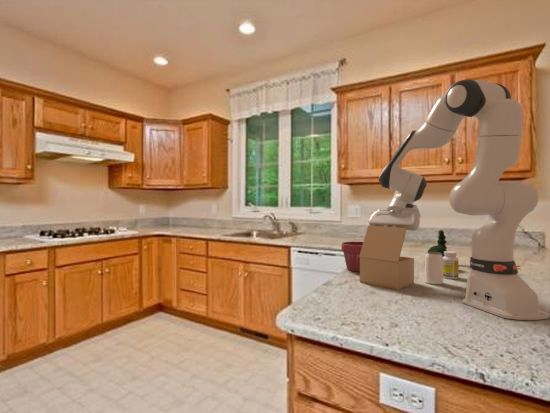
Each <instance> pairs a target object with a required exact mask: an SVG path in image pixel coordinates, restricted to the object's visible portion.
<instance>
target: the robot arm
mask: <svg viewBox="0 0 550 413" xmlns="http://www.w3.org/2000/svg"><path fill="white" fill-rule="evenodd" d="M466 117H467V118H472V117H473V118H474V117H475V118H476V119H477V120H478V122H479V129H478V130H479V131H478V137H477V139H478V140H477V146H476V153H475V159H474V162H473V165H472V167H471V169H470V171H469V172H468V173H467V175H466V176H465V177H464V178H463V179H462V180H461V181H459V182H458V183H456V184H455V185H454V186H453V188H452V189H451V191H450V192H449V204H450V206H451V208H452V210H453V211H454V212H456V213H458V214H463V215H467V216H488V218H487V220H486V222H485V224H484V225H483V226H481V227H479V228H477V229H476V230H475V231H474V232H473V233H472V235H471V257H470V259H469V268H470V269H471V270H470V272H469V275H468V276H467V282H466V289H465V298H463V299H462V304H464V305H467V306H470V307H473V308H476V309H479V310H480V311H484V312H487V313H490V314H493V315H495V316H498V317H501V318H503V319H509V320H519V321H521V320H522V321H534V320H535V321H537V320H538V321H539V320H546V319H549V318H550V313H549V312H547V311H545V310H544V309H541V308H540V302H539V297H538V294H537V292H536V291H534V289H532V288H531V286H530V285H529V284H528V283H527V282H526V281H525V280H524V279H523V278H522V277H521V275H519V270H521V268H519V267H522V265H517V264H516V261H515V260H514V247H515V246H514V245H515V237H516V232H517V230H518V228H519V226H520V224H521V223H522V221H523V219H524V218H525V217H526V216H527V215H528V214H530V213H531V212H533V211H534V210H536V207H537V206H538V202H539V194H538V191H537V189H536V188H535V187H534V186H533V185H532V184H529V183H525V182H521V181H514V180H501V181H500V178H501V176H502V175H503V174H504V173H505V172H506V170H508V169H510V168H512V167H514V166H515V165H517V163H518V162H519V159H520V154H521V153H520V152H521V145H522V135H523V111H522V105H521V103H520V102H519V101H517V100H515V99H512V96H511V92H510V90H509V89H508V88H507V87H506V86H504V85H502V84H500V83H494V82H491V81H487V80H483V79H482V80H479V79H469V78H467V79H462V80H461V79H460V80H459V81H456V82H454V83H453V84H451V85H450V87H449V88H448V89H447V91H446V93H445V94H442V95H441V96H440V97H439V98H438V99H437V101H436V102H435V104H433V107H432V108H431V109H430V111H429V113H428V116H427V117H426V118H425V121H424V123H423V124H422V125H421V126H420V127H419V128H417V129H416V130H411V132H409V133H408V134H407V135H406V137H405V139H404V140H403V141H402V142H401V144H400V145H399V147H398V148H397V150H396V151H395V153H394V154H393V155H392V157H391V159H390V161H389V162H388V163H387V164H386V165H385V166H384V167H383V169H382V170H381V171H380V174H379V175H378V182H379V184H380V186H381V187H382V188H383V189H387V190H392V191H394V193H393V195H392V199H391V200H390V202H389V204H388V206H387V208H386V209H378V210H376V211H374V212H373V214H372V215H371V216H370V218H369V219H368V226H381V227H399V228H407V229H406V231H417V230H418V229H419V227H420V224H421V220H420V218H421V217H422V216H421V212H420V210H419V208H418V206H417V205H416V204H414V203H415V202H417V201H419V200H420V199H421V198H422V197H423V194H424V192H425V189H426V188H427V181H426V178H425V176H423V175H421V174H419V173H415V172H413V171H409V170H407V169H405V168H402V167H400V164H401V163H402V161H403V160H404V158H405V157H406V156H407V155H408V153H409V152H410V151H412V150H418V149H424V150H425V149H427V150H428V149H438V148H442V147H444V146H445V145H447V144H449V142H450V141H451V140H452V138H453V137H454V136H455V133H456V132H457V130H458V128H459V126H460V124H461V122H462V121H463V120H464V118H466Z"/></svg>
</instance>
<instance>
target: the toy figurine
mask: <svg viewBox="0 0 550 413" xmlns="http://www.w3.org/2000/svg"><path fill="white" fill-rule="evenodd" d="M446 238H447V237H446V235H445V232H444V231H443V230H442V229H440V230H438V236H437V241H436V243H437V245H433V246H431V247H429V249H428V250H427V252H438V253H442V257H444V256H445V255H444V251H448V250H447V249H448V247H447V245H446V244H447V243H448V242H447V241H446Z"/></svg>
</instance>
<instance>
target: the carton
mask: <svg viewBox="0 0 550 413" xmlns="http://www.w3.org/2000/svg"><path fill="white" fill-rule="evenodd" d="M359 282H360V283H363V284H368V285H373V286H377V287H383V288H388V289H393V290H401V289H403V288H406V287H408V286H410V285H413V284H415V258H414V257H409V256H401V255H400V258H399V262H390V261H383V260H376V259H369V258H362V257H360V271H359Z"/></svg>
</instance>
